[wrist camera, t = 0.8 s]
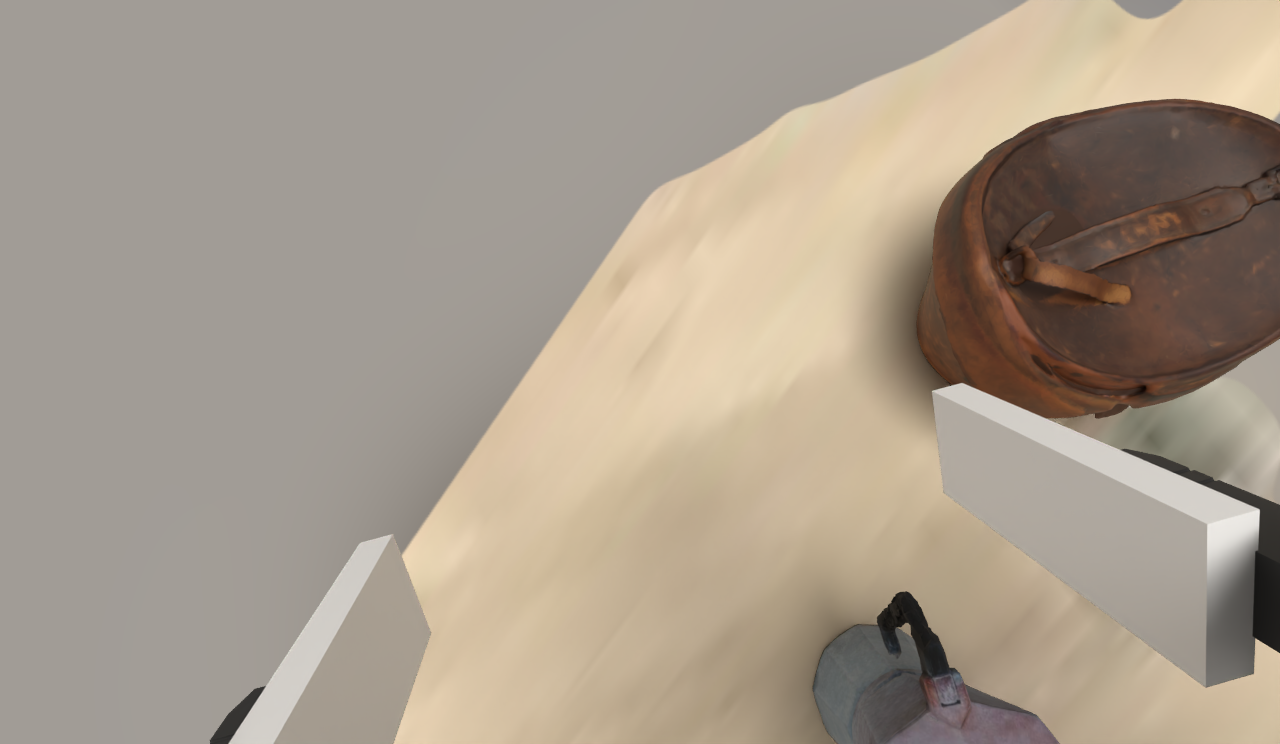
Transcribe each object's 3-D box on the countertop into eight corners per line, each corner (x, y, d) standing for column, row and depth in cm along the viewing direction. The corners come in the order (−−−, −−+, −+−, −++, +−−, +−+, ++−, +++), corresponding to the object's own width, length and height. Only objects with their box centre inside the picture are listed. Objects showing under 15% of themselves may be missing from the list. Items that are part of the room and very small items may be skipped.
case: (825, 364, 49) (891, 272, 31) (960, 176, 51) (1089, -3, 34) (1036, 504, 44) (1248, 487, 27) (1171, 292, 47) (1441, 155, 30)
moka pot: (851, 832, 41) (971, 1101, 21) (768, 595, 45) (806, 641, 26) (991, 789, 40) (1240, 1023, 21) (894, 555, 45) (1028, 571, 25)
